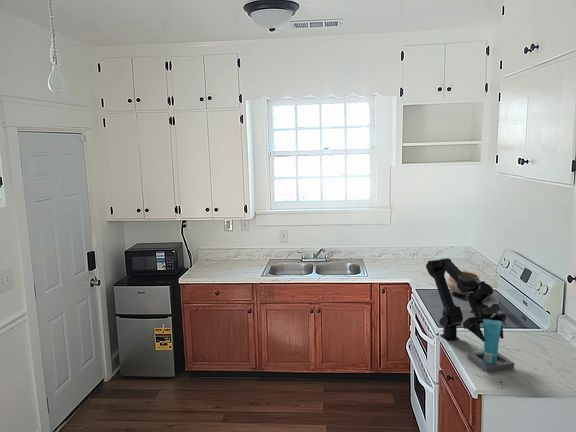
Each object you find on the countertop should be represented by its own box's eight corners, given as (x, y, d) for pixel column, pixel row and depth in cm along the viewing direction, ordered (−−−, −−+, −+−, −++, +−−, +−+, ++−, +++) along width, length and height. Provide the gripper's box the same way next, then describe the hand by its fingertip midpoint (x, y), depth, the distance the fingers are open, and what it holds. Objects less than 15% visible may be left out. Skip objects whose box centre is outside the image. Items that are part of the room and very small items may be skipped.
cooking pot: (484, 301, 280) (485, 281, 278) (450, 300, 283) (451, 280, 281) (474, 288, 304) (475, 269, 302) (443, 287, 307) (444, 268, 305)
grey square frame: (467, 358, 209) (467, 353, 209) (493, 355, 212) (494, 349, 212) (486, 372, 197) (486, 366, 196) (513, 368, 200) (514, 363, 199)
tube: (498, 361, 206) (501, 319, 203) (500, 367, 202) (503, 323, 198) (480, 359, 208) (482, 317, 205) (480, 364, 204) (483, 321, 201)
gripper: (468, 299, 201) (485, 335, 193) (505, 295, 207) (523, 329, 198) (455, 311, 210) (471, 345, 201) (491, 306, 215) (507, 339, 207)
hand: (493, 339), depth 202 cm, fingers open, 9 cm apart
